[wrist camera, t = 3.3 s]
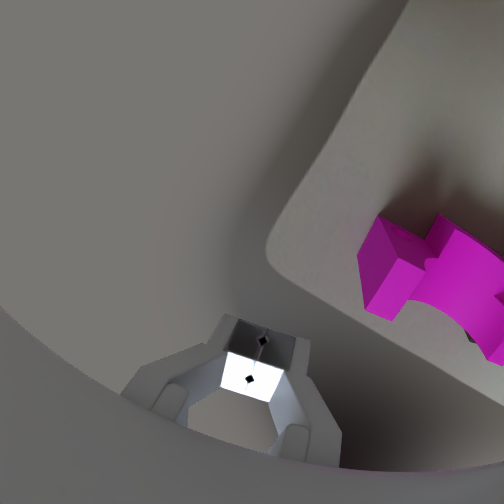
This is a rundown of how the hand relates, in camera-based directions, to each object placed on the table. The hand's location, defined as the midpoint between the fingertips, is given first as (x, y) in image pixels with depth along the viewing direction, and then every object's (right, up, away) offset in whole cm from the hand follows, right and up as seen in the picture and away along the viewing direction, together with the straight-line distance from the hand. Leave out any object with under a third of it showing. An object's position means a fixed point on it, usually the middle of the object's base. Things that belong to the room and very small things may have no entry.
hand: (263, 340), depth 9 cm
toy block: (+16, +2, +11) cm, 19 cm away
